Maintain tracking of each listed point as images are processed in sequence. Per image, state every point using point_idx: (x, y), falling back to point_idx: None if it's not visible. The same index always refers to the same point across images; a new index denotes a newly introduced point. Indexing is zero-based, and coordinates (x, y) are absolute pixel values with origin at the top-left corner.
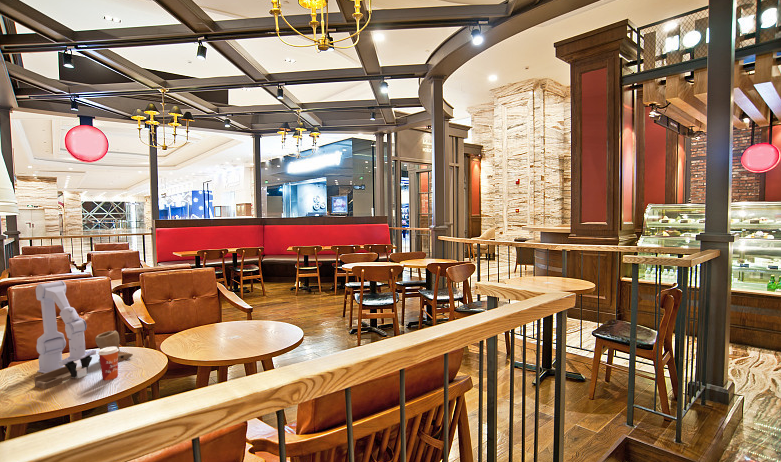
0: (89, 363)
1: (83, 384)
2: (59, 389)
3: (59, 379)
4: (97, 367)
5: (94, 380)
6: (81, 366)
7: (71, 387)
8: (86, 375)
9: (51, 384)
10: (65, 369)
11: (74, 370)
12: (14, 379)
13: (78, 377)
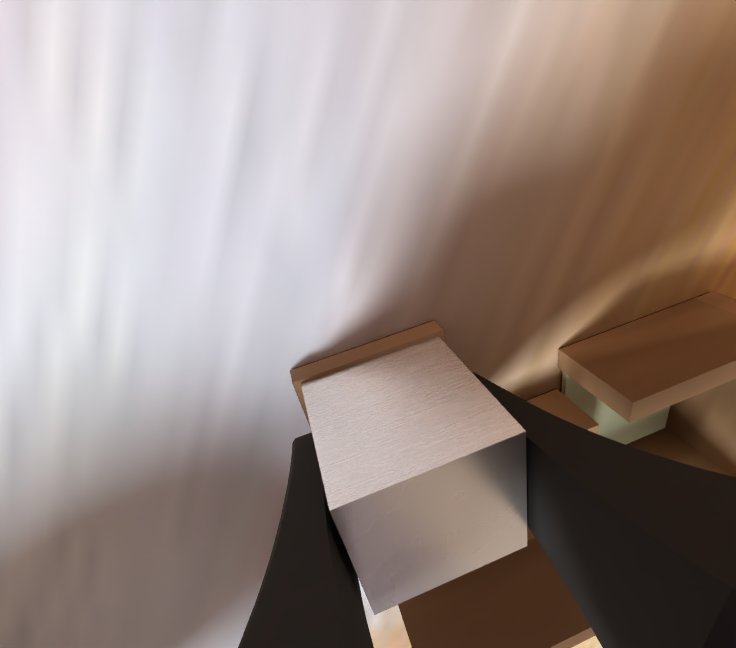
0: (251, 617)
1: (466, 4)
2: (680, 169)
3: (648, 379)
4: (102, 616)
5: (256, 21)
6: (375, 592)
7: (606, 74)
8: (309, 381)
9: (705, 330)
10: (495, 615)
11: (572, 439)
12: (594, 643)
13: (431, 351)
